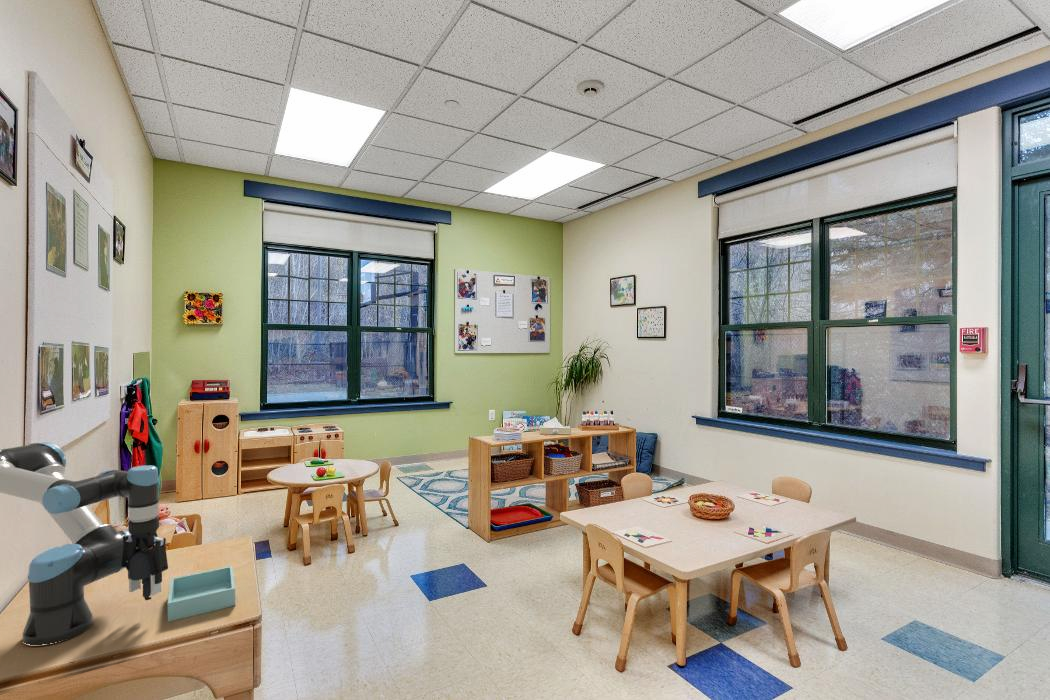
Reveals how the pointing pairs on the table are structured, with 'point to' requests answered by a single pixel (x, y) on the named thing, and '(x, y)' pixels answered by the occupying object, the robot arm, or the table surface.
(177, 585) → the bin
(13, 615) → the table surface
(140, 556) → the toy
